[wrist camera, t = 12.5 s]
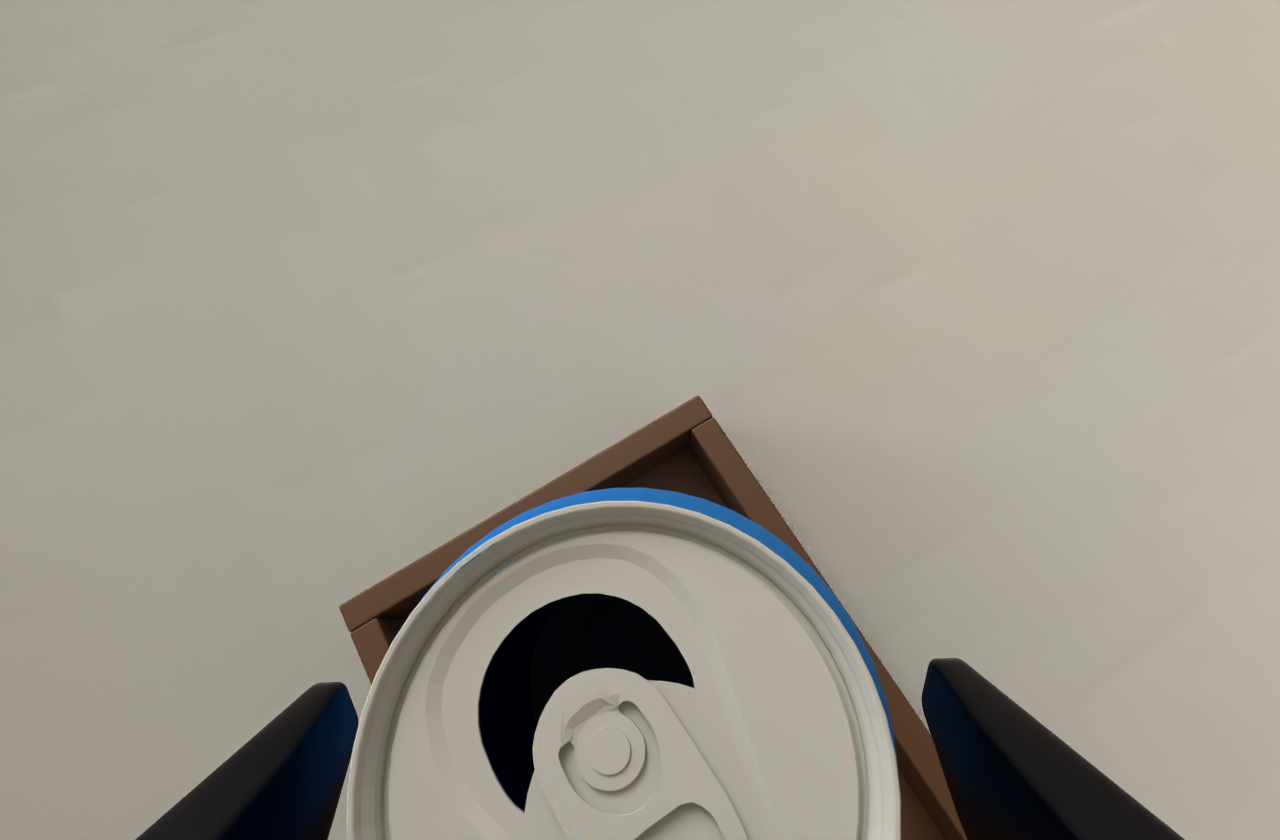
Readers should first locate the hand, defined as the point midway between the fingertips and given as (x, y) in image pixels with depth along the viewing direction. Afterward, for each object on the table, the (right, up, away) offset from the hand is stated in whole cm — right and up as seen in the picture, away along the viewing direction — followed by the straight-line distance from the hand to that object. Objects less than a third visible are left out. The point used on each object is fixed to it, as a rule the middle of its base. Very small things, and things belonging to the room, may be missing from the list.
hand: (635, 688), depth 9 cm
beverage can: (0, -3, +8) cm, 9 cm away
